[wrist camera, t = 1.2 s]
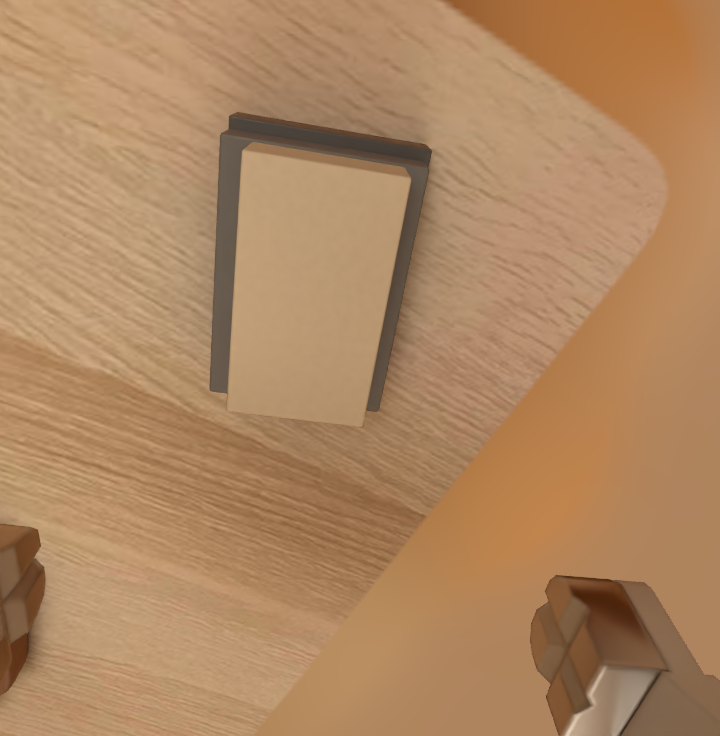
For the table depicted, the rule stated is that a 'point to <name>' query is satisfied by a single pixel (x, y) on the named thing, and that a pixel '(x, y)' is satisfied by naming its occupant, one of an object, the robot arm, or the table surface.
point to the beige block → (311, 281)
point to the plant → (15, 662)
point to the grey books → (320, 141)
